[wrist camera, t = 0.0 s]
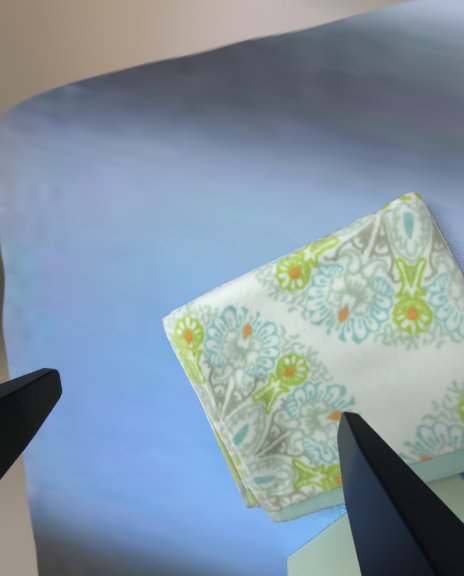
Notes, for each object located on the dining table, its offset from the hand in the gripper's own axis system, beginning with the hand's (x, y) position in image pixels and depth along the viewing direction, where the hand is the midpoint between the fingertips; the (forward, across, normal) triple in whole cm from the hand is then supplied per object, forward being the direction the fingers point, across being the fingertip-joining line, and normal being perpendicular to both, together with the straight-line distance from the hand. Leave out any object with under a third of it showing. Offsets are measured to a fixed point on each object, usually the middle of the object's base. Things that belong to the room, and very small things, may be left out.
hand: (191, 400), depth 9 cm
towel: (+15, -7, +7) cm, 18 cm away
